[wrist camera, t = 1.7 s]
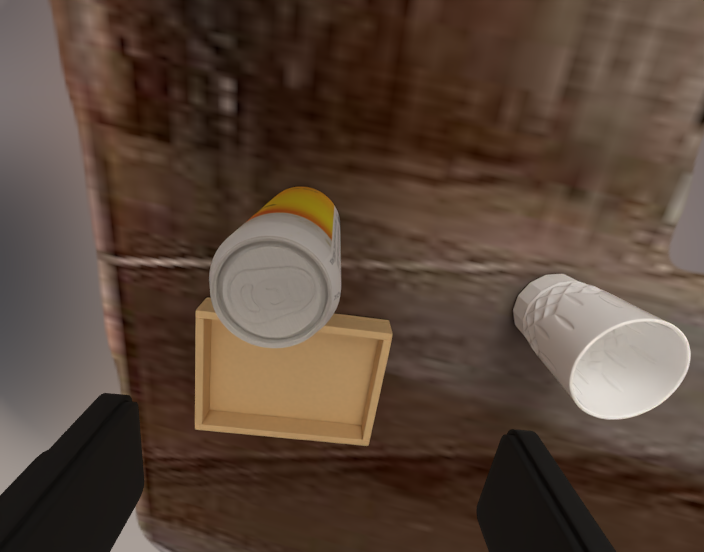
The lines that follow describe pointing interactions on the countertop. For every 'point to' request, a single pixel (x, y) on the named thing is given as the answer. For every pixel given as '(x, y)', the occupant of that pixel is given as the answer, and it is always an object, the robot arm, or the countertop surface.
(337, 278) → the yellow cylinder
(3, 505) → the robot arm
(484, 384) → the countertop surface
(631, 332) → the white cup
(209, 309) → the tray
